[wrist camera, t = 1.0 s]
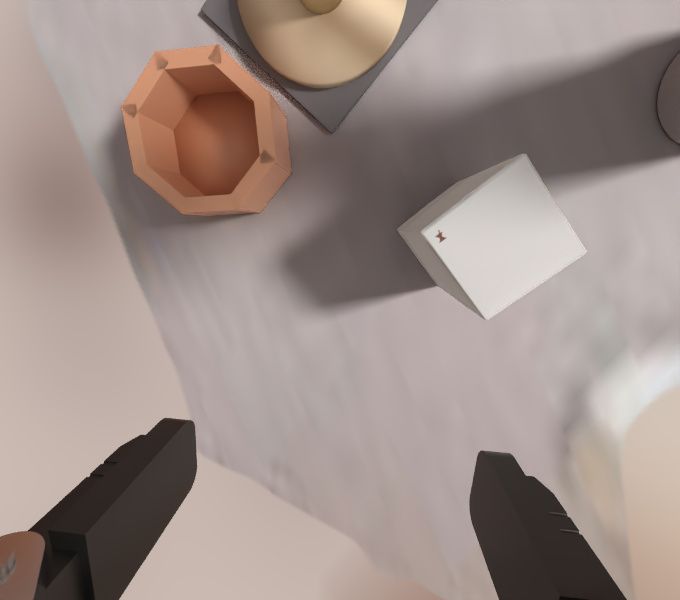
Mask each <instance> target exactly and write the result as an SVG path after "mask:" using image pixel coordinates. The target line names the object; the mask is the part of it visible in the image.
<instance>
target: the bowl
mask: <svg viewBox="0 0 680 600" xmlns="http://www.w3.org/2000/svg"><path fill="white" fill-rule="evenodd" d="M121 108H122V113H123V118H124V123H125V129H126V134H127V139H128V145H129V150H130V155H131V160H132V166H133V172H134V174H136V175H137V176H138V177H140V178H141V179H142V180H143V181H144V182H145V183H147V184H148V185H149V186H150V187H151V188H152V189H154V190H155V191H156V192H157V193H158V194H159V195H161V196H162V197H163V198H164V199H165V200H167V201H168V202H169V203H170V204H171V205H172V206H174V207H175V208H176V209H177V210H178V211H179V212H180V213H181V214H188V215H204V216H215V215H227V214H242V213H256V212H257V213H261V212H262V210H263V209H264V207H265V206H266V205H267V204H268V202H269V201H270V200H271V199H272V197H273V196H274V195H275V193H276V192H277V191H278V190H279V188H280V187H281V186H282V185H283V183H284V182H285V181H286V179H287V178H288V177H289V176H290V174H292V172H291V161H290V150H289V139H288V128H287V117H286V115H285V114H284V112H283V111H282V109H281V108H280V107H279V105H278V104H277V102H276V101H275V99H274V98H273V96H272V95H271V93H270V92H269V91H267V90H266V89H265V88H264V87H263V86H262V85H261V84H259V83H258V82H257V81H256V80H255V79H254V78H253V77H252V76H251V75H250V74H249V73H248V72H247V71H246V70H244V69H243V68H242V67H241V66H240V65H239V64H238V63H237V62H236V61H235V60H234V59H233V58H232V57H230V56H229V55H228V54H227V53H226V52H225V51H224V50H223V49H222V48H221V46H220V45H218V44H217V45H212V46H203V47H194V48H185V49H176V50H167V51H158V52H157V51H155V52H154V54H153V56H152V58H151V59H150V61H149V63H148V64H147V66H146V67H145V69H144V71H143V72H142V74H141V76H140V77H139V79H138V80H137V82H136V84H135V85H134V87H133V88H132V90H131V92H130V93H129V95H128V97H127V98H126V100H125V101H124V103H123V105H121Z"/></svg>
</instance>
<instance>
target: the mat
mask: <svg viewBox="0 0 680 600" xmlns="http://www.w3.org/2000/svg"><path fill="white" fill-rule="evenodd" d="M437 1H438V0H407V3H406V8H405V12H404V16H403V20H402V23H401V26H400V29H399V31H398V34H397V36H396V38H395V40H394V42H393V44H392V45H391V47H390V49H389V50H388V51H387V53H386V54H385V56H384V57H383V58H382V59H381V60H380V61H379V63H378V64H377V65H376V66H375V67H374V68H372V69H371V70H370V71H369V72H368V73H366V74H365V75H363V76H362V77H360V78H359V79H357V80H355V81H353V82H351V83H348V84H345V85H342V86H339V87H333V88H319V89H318V88H310V87H306V86H302V85H298V84H296V83H294V82H292V81H289V80H288V79H286V78H284V77H283V76H281V75H280V74H278V73H277V72H276V71H275V70H273V69H272V68H271V67H270V66H269V65H268V64H267V63H266V61H265V60H264V59H263V58H262V56H261V55H260V54H259V52H258V51H257V49H256V48H255V46H254V44H253V43H252V41H251V39H250V37H249V35H248V33H247V31H246V29H245V26H244V24H243V22H242V18H241V15H240V11H239V8H238V2H237V0H207V1H206V2H205V4H204V5H203V7H202V9H201V11H202V12H203V13H204V14H205V15H206V16H207V17H208V18H209V19H210V20H211V21H212V22H213V23H214V24H215V25H217V26H218V27H219V28H220V29H221V30H222V31H223V32H224V33H225V34H226V35H227V36H228V37H229V38H230V39H231V40H232V41H234V42H235V43H236V44H237V45H238V46H239V47H240V48H241V49H242V50H243V51H244V52H245V53H246V54H247V55H248V56H250V57H251V58H252V59H253V60H254V61H255V62H256V63H257V64H258V65H259V66H260V67H261V68H262V69H263V70H264V71H266V72H267V73H268V74H269V75H270V76H271V77H272V78H273V79H274V80H275V81H276V82H277V83H278V84H279V85H280V86H281V87H283V88H284V89H285V90H286V91H287V92H288V93H289V94H290V95H291V96H292V97H293V98H294V99H295V100H296V101H297V102H299V103H300V104H301V105H302V106H303V107H304V108H305V109H306V110H307V111H308V112H309V113H310V114H311V115H312V116H313V117H315V118H316V119H317V120H318V121H319V122H320V123H321V124H322V125H323V126H324V127H325V128H326V129H327V130H328V131H329V132H330V133H333V132H334V131H335V130H336V128H337V127H338V126H339V125H340V123H341V122H342V121H343V119H344V118H345V117H346V116H347V114H348V113H349V112H350V111H351V109H352V108H353V107H354V106H355V104H356V103H357V102H358V100H359V99H360V98H361V97H362V95H363V94H364V93H365V92H366V90H367V89H368V88H369V87H370V85H371V84H372V83H373V82H374V80H375V79H376V78H377V76H378V75H379V74H380V73H381V71H382V70H383V69H384V68H385V66H386V65H387V64H388V63H389V61H390V60H391V59H392V58H393V56H394V55H395V54H396V52H397V51H398V50H399V49H400V47H401V46H402V45H403V44H404V42H405V41H406V40H407V39H408V37H409V36H410V35H411V33H412V32H413V31H414V30H415V28H416V27H417V26H418V25H419V23H420V22H421V21H422V20H423V18H424V17H425V16H426V15H427V13H428V12H429V11H430V9H431V8H432V7H433V6H434V4H435V3H436V2H437Z"/></svg>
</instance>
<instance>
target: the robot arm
mask: <svg viewBox="0 0 680 600" xmlns="http://www.w3.org/2000/svg"><path fill="white" fill-rule="evenodd" d="M657 108H658V116H659V119H660V122H661V125H662V127H663V129H664V130H665V132H666V133H667V134H668V136H669V137H670V138H672V139H673V140H674V141H675V142H676V143H678V144H680V53H679V54H678V55H677V56H676V57H675V58H674V60H673V61H672V63H671V64H670V65H669V67H668V69H667V71H666V73H665V75H664V77H663V79H662V81H661V85H660V88H659V92H658V101H657ZM196 470H197V458H196V437H195V425H194V422H193V421H191V420H181V419H172V418H164V419H163V420H161V421H160V422H159V423H158V424H157V425H156V426H155V427H154V428H153V429H152V430H151V431H150V432H149V433H148V434H146V435H140V436H138V437H136V438H135V439H132V440H131V441H129V442H127V443H125V444H124V445H122V446H120V447H119V448H118V449H117V450H116V451H115V452H114V453H113V454H112V455H110V456H109V457H108V458H107V459H106V460H105V461H104V464H100V465H99V466H98V467H97V468H96V469H95V470H94V471H93V472H92V473H91V474H90V476H89V477H86V478H85V479H84V480H83V481H82V482H81V483H80V484H79V485H78V486H76V487H75V488H74V489H73V490H72V491H71V492H70V493H69V494H68V495H67V496H65V498H63V499H62V500H61V501H60V502H59V503H58V504H57V505H56V506H55V507H53V508H52V509H51V510H50V511H49V512H48V513H47V514H46V515H45V516H44V517H43V518H41V519H40V520H39V521H38V522H37V523H36V524H35V525H34V526H33V527H32V528H30V529H29V530H28V531H24V532H23V531H22V532H15V533H11V534H7V535H4V536H1V537H0V600H119V598H120V597H121V595H122V594H123V592H124V591H125V589H126V588H127V586H128V585H129V583H130V582H131V580H132V579H133V577H134V576H135V574H136V572H137V571H138V569H139V568H140V566H141V565H142V563H143V562H144V560H145V559H146V557H147V556H148V554H149V553H150V551H151V550H152V548H153V546H154V545H155V543H156V542H157V540H158V539H159V537H160V536H161V534H162V533H163V531H164V529H165V528H166V526H167V525H168V523H169V522H170V520H171V519H172V517H173V516H174V514H175V513H176V511H177V510H178V508H179V506H180V505H181V504H182V502H183V501H184V499H185V498H186V496H187V494H188V493H189V491H190V490H191V488H192V485H193V483H194V480H195V476H196ZM470 515H471V520H472V524H473V527H474V530H475V533H476V536H477V539H478V541H479V544H480V547H481V550H482V553H483V555H484V558H485V561H486V564H487V567H488V570H489V572H490V575H491V578H492V581H493V584H494V587H495V589H496V592H497V595H498V598H499V600H627V599H626V598H625V596H624V595H623V593H622V592H621V591H620V589H619V588H618V586H617V585H616V583H615V582H614V580H613V579H612V578H611V576H610V575H609V573H608V572H607V570H606V569H605V567H604V566H603V565H602V563H601V562H600V560H599V559H598V557H597V556H596V554H595V553H594V552H593V550H592V549H591V547H590V546H589V544H588V543H587V541H586V540H585V539H584V537H583V536H582V535H580V534H579V530H578V528H577V527H576V526H575V524H574V523H573V521H572V520H571V518H570V517H568V516H567V513H566V511H565V510H564V508H563V507H562V505H561V504H560V502H559V501H558V500H557V498H556V497H555V495H554V494H553V493H552V492H551V491H550V490H549V489H547V488H546V487H545V486H544V485H543V484H542V483H541V482H539V481H538V480H537V479H536V478H535V477H532V476H526V475H525V474H524V472H523V471H522V469H521V467H520V466H519V464H518V463H517V461H516V460H515V458H514V457H513V455H512V454H510V453H501V452H491V451H480V452H479V453H478V456H477V461H476V467H475V472H474V477H473V483H472V488H471V494H470Z"/></svg>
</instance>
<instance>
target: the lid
mask: <svg viewBox="0 0 680 600" xmlns="http://www.w3.org/2000/svg"><path fill="white" fill-rule="evenodd" d="M237 2H238V8H239V11H240V15H241V18H242V22H243V24H244V26H245V29H246V31H247V33H248V35H249V37H250V39H251V41H252V43H253V44H254V46H255V48H256V49H257V51H258V52H259V54H260V55H261V56H262V58H263V59H264V60H265V61H266V63H267V64H268V65H269V66H270V67H271V68H272V69H273V70H275V71H276V72H277V73H278V74H280V75H281V76H283V77H284V78H286V79H288V80H289V81H292V82H294V83H296V84H298V85H302V86H306V87H310V88H318V89H319V88H333V87H339V86H342V85H345V84H348V83H351V82H353V81H355V80H357V79H359V78H360V77H362V76H363V75H365V74H366V73H368V72H369V71H370V70H371V69H372V68H374V67H375V66H376V65H377V64H378V63H379V61H380V60H381V59H382V58H383V57H384V56H385V54H386V53H387V51H388V50H389V49H390V47H391V45H392V44H393V42H394V40H395V38H396V36H397V34H398V31H399V29H400V26H401V23H402V20H403V16H404V12H405V8H406V3H407V0H237Z"/></svg>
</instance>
